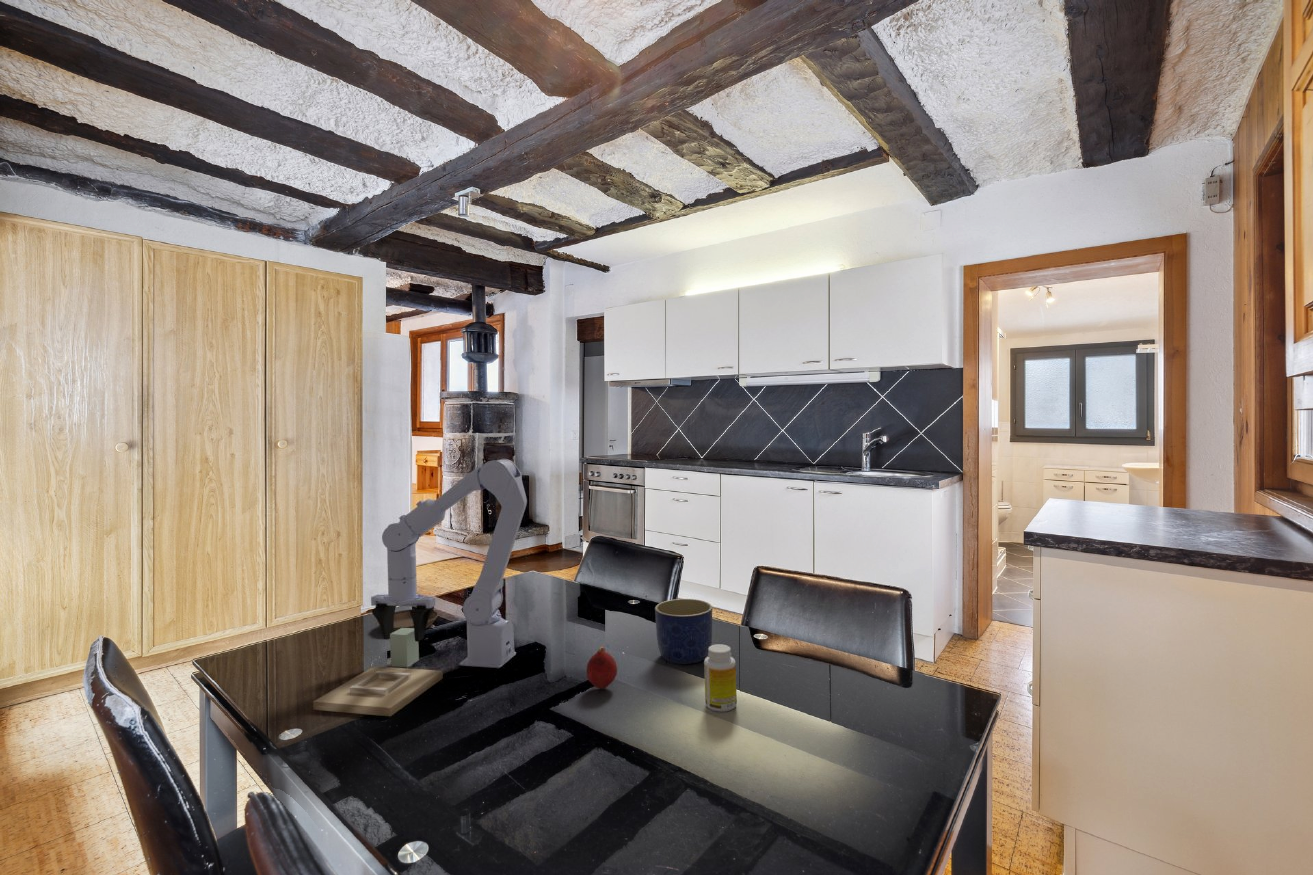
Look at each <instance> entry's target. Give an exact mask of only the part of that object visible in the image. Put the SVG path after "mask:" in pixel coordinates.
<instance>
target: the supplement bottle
mask: <svg viewBox="0 0 1313 875" xmlns="http://www.w3.org/2000/svg"><path fill="white" fill-rule="evenodd" d="M703 665H704V667H703V668H704V672H703V673H704V698H705V699H704V700H705V705H706V707H708V709H710V710H711V711H714V712H719V713H720V712H723V713H724V712H730V711H732V710H733V709H734V708H736V706H737V703H738V699H737V698H738V697H737V671H736V670H737V669H736V666H737V665H736V659H735V658H734V657H733V656H732V650H731V647H730V646H729V645H726V644H719V643H718V644H711V646H710V647H709V648H708V656H707V657H706V658H705V659H704V661H703Z"/></svg>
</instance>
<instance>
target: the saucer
mask: <svg viewBox="0 0 1313 875" xmlns="http://www.w3.org/2000/svg"><path fill="white" fill-rule="evenodd" d="M413 609H414V608H412V609H404V610H399V611H398V610H397V611H395V614H394V632H395V631H397V630H399V629H401V628H414V624H413V620H412V616H411V614H410V611H411V610H413ZM438 616H439V612H438V611H436V610H434V609H433V611H432V613H431V615H430V617H429V620H428V622H427V626H426V629H428V628H429V627H430V626H431V625H432V624H434V622H435V621H436V619H437V618H438ZM376 624H377V626H378V627H379V629H381V627H380V625H379V623H378V621H377V620H376Z"/></svg>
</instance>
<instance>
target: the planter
mask: <svg viewBox="0 0 1313 875" xmlns="http://www.w3.org/2000/svg"><path fill="white" fill-rule="evenodd" d="M654 612H655V613H654V615H655V629H656V631H655V632H656V639H657V646H658V651H659V654H660V655H661V656H662V658H663V659H665V661H668V662H669V663H673V664H680V665H688V664H689V665H691V664H696V663H699V662H701V661H703V660H705V659H706V658H707V657H708V648H709V647H710V646H712V643H713V642H712V640H713V605H712V604H711V603H709V602H707V601H705V600H700V599H694V598H675V599H669V600H665V601H662V602H659V603H658V604H657V605H655V607H654Z"/></svg>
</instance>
